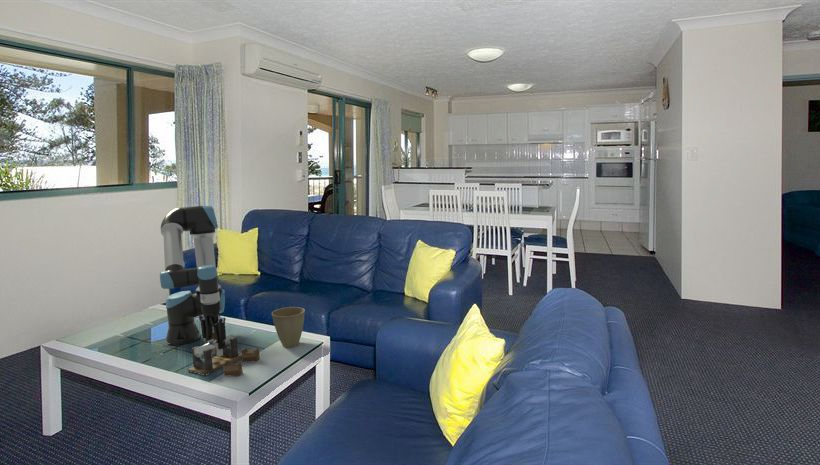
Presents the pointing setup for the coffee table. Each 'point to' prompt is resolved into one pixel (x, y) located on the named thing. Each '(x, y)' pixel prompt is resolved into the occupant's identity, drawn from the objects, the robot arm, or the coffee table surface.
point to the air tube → (211, 346)
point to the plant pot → (289, 325)
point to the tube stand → (236, 368)
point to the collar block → (215, 358)
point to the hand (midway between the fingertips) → (216, 355)
